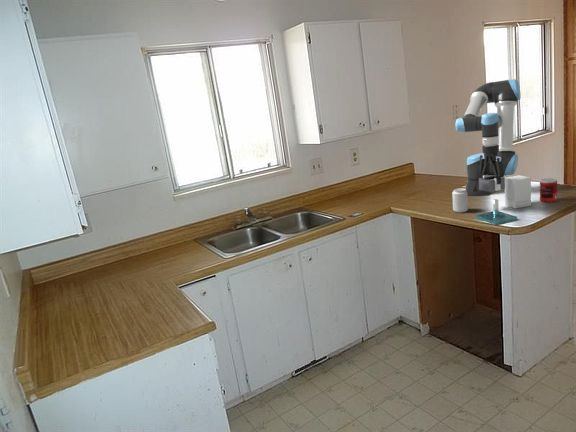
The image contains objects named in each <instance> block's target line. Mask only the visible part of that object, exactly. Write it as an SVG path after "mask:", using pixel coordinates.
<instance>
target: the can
mask: <svg viewBox="0 0 576 432" xmlns="http://www.w3.org/2000/svg"><path fill="white" fill-rule="evenodd" d="M451 196H452V210H453V211H454V212H455V213H457V214H458V213H461V214H462V213H466V212H467V211H468V210H469V197H468V196H469V195H468V193H467V191H466V189H465V188H463V187H460V188H455V189H453V191H452V193H451Z"/></svg>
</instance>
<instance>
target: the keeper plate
mask: <svg viewBox="0 0 576 432" xmlns="http://www.w3.org/2000/svg"><path fill="white" fill-rule="evenodd" d="M475 219H478V220H480V221H482V222H485V223H488V224H492V225H495V226H497V225H501V223H502V224H505V222H506V223H510V222H513V220H514V221H517V220H518V216H516V215H513V214H509V213H506V212H502V211H500V210H499V199H492V211H489V212H485V213H480V214H476V215H475ZM509 221H510V222H509Z"/></svg>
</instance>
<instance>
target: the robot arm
mask: <svg viewBox="0 0 576 432" xmlns="http://www.w3.org/2000/svg"><path fill="white" fill-rule="evenodd" d="M520 88H521V87H520V84H519V80H518V79H516V78H514V79H506V80H505V79H504V80H499V81H498V80H497V81H491V82H490V81H488V82H486V83H483V84H482V85H480V86H479V87H478V88H476V89H475V90H474V91H473V92H472V94H471V96H470V98H469V104H468V107H467V109H466V110H465V113H464V115H463V117H459V118H456V120H455V124H454V125H455V131H456V132H457V133H470V132H471V133H472V132H481V137H482V138H481V140H482V141H481V142H482V147H481V148H482V150H481V151H482V152H480V153H475V154H472V155H469V156H468V157H467V158H466V176H467V180H466V185H465V188H464V189H466V191H467V193H468V196H470V197H471V196H473V197H479V196H480V197H481V196H482V197H483V196H487V195H491V194H492V193H493V192H486V191H482V190H479V178H483V177H487V176H492V175H495V176H496V177H495V191H494V192H497V190H498V191H502V190H501V187H500V184H501V177H505V176H506V177H507V176H512V175H513V176H514V175H515V173H516V171H517V168H518V165H519V154H517V153H516V150H515V149H514V148H513V146H514V144H513V143H514V123H515V122H514V118H515V117H514V116H515V115H514V113H515V106H517V104H518V101H520V100H521V98H522V97H521V89H520ZM493 103H494V106H495V107H496V109H497V110H496V112H487V113H483V114H482V115H481V113H482V111H483V108H484V107H485V106H486V105H487V104H493Z"/></svg>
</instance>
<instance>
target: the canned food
mask: <svg viewBox="0 0 576 432" xmlns="http://www.w3.org/2000/svg"><path fill="white" fill-rule="evenodd" d="M557 199H558V179H557V178H552V177H551V178H542V179H539V202H542V203H554V202H557V201H558V200H557Z"/></svg>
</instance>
